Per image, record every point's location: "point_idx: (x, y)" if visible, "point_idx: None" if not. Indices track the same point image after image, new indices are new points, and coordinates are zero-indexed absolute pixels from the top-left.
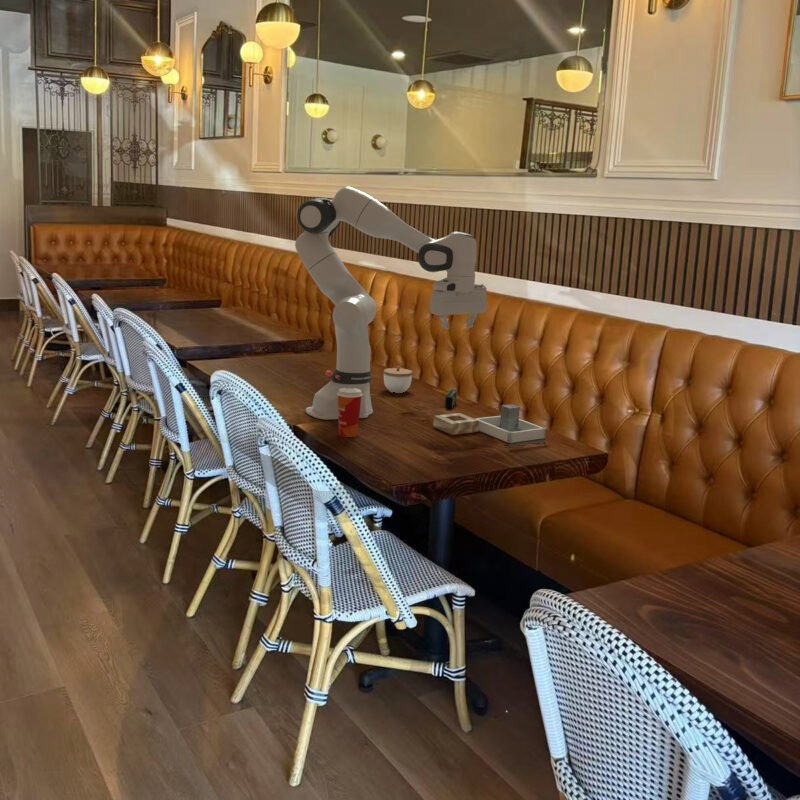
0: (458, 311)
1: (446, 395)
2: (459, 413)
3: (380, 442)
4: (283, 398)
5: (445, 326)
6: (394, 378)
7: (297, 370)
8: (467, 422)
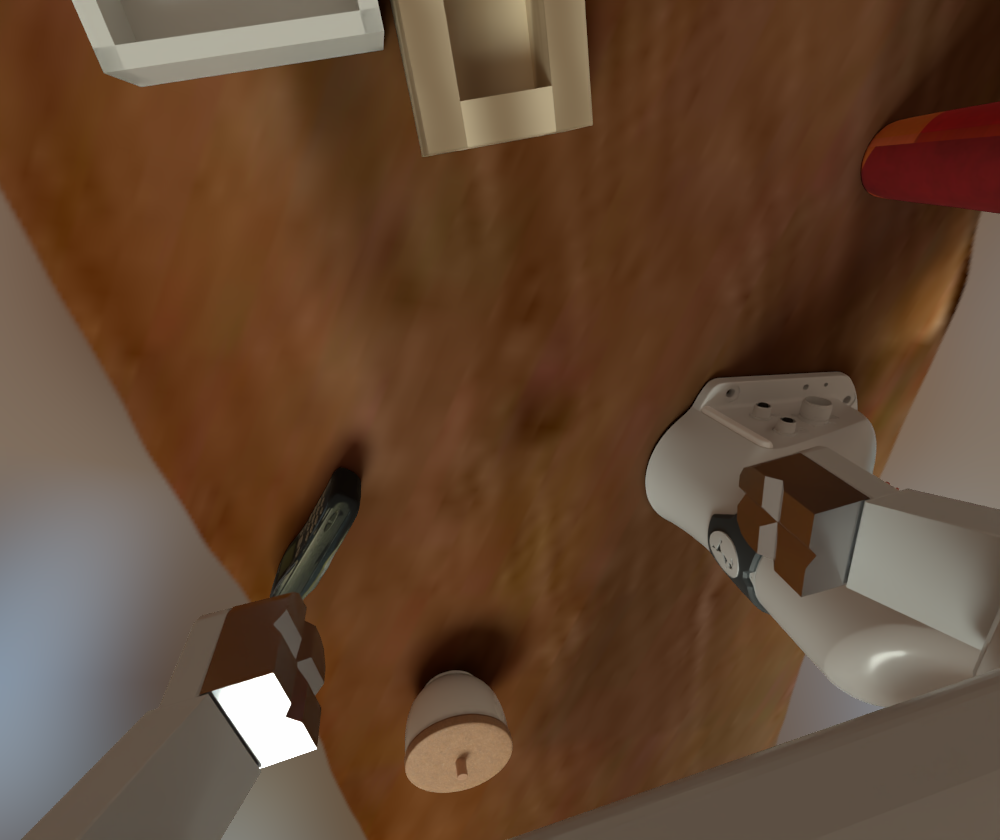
0: (919, 825)
1: (346, 533)
2: (436, 142)
3: (855, 7)
4: None
5: (845, 459)
6: (486, 708)
7: None
8: None
